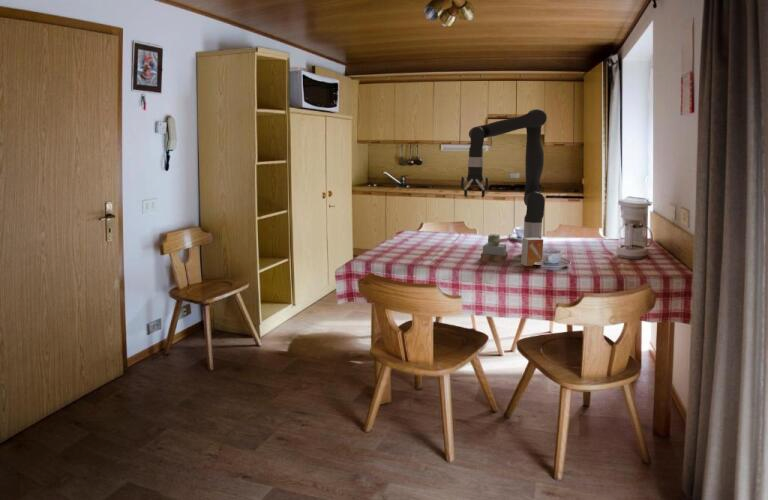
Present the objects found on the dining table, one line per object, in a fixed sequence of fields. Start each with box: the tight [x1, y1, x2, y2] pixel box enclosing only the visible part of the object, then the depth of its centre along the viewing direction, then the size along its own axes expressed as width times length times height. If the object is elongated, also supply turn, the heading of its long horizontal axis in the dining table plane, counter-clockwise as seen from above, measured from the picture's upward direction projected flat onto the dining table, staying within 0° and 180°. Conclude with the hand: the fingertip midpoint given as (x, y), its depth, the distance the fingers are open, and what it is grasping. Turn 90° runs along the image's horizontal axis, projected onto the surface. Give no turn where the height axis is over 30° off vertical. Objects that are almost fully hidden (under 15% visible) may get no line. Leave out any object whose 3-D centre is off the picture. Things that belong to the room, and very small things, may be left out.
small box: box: [520, 237, 544, 267], centre depth 293 cm, size 8×6×13 cm
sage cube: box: [487, 233, 501, 246], centre depth 305 cm, size 5×5×5 cm
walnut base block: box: [480, 251, 509, 264], centre depth 306 cm, size 12×12×4 cm
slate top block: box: [482, 242, 507, 255], centre depth 305 cm, size 10×10×4 cm
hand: (474, 197), depth 317 cm, fingers open, 8 cm apart
